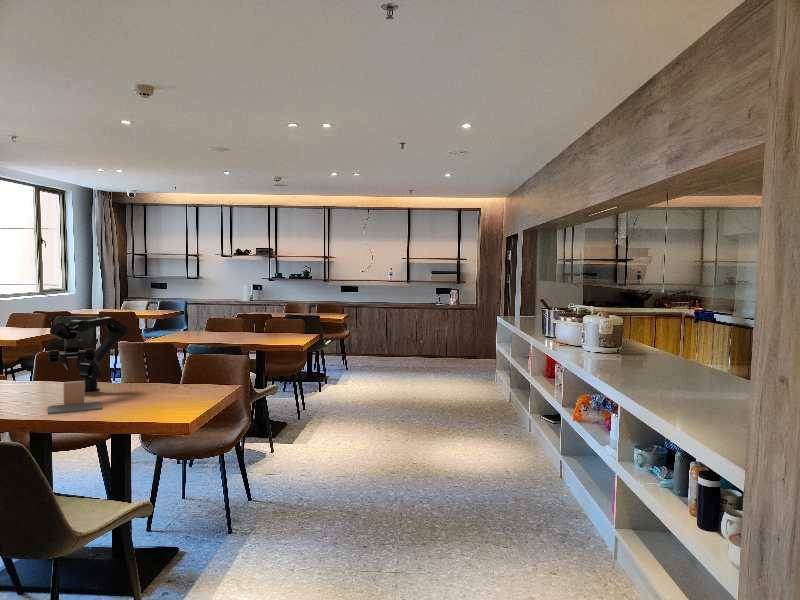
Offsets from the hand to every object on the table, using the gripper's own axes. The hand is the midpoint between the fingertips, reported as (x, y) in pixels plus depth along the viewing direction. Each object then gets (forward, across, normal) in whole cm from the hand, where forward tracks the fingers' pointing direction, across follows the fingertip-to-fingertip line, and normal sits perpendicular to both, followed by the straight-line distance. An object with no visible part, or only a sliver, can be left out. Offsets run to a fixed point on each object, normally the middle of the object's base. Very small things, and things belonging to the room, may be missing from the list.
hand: (72, 369), depth 265 cm
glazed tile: (+18, 0, +2) cm, 18 cm away
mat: (+24, 0, -5) cm, 25 cm away
